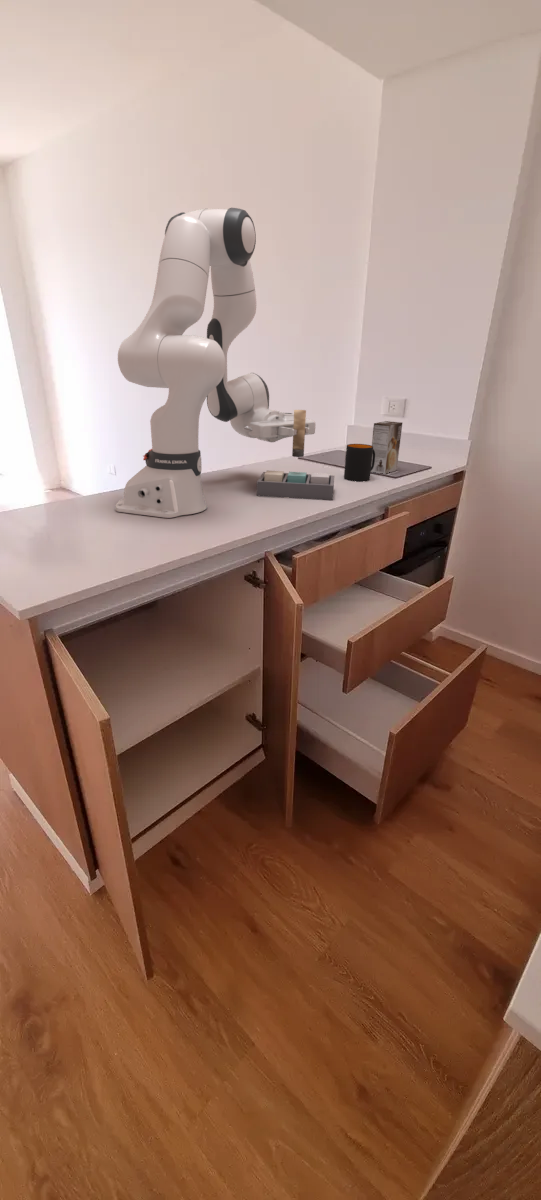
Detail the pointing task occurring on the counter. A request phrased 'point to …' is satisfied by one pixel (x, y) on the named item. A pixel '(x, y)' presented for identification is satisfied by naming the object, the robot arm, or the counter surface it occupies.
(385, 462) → the coffee box
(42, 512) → the counter surface
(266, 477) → the key cream
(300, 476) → the key teal
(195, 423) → the robot arm
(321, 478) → the key grey
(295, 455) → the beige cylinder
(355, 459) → the mug
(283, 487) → the gray divided sorting tray
